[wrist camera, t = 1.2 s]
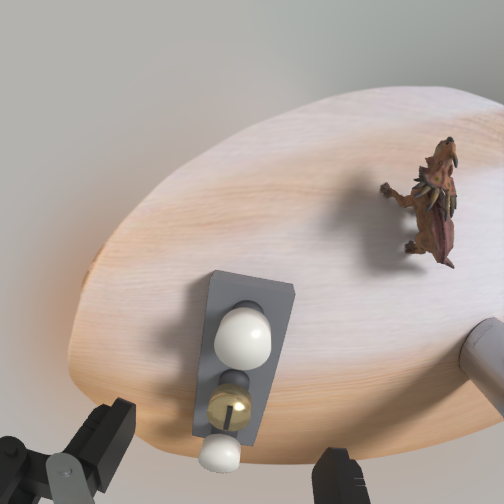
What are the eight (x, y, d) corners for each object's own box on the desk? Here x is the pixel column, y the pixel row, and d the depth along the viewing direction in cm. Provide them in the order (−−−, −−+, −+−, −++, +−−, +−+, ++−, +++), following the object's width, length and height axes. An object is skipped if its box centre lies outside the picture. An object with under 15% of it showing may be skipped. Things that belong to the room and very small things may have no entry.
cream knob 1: (238, 458, 28) (235, 475, 26) (201, 452, 28) (197, 468, 26) (243, 437, 27) (242, 455, 25) (204, 430, 27) (199, 448, 25)
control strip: (254, 431, 34) (252, 452, 30) (196, 420, 35) (190, 441, 30) (292, 284, 30) (296, 298, 26) (215, 269, 30) (207, 282, 26)
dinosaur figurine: (369, 162, 27) (410, 152, 18) (413, 145, 26) (462, 133, 17) (408, 281, 29) (451, 312, 20) (447, 260, 28) (496, 283, 19)
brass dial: (248, 415, 27) (246, 435, 24) (209, 408, 27) (204, 428, 24) (255, 387, 26) (253, 408, 23) (213, 379, 26) (208, 399, 23)
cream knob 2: (265, 356, 25) (264, 374, 22) (216, 347, 25) (211, 364, 22) (275, 312, 24) (276, 327, 21) (223, 302, 24) (217, 316, 21)
